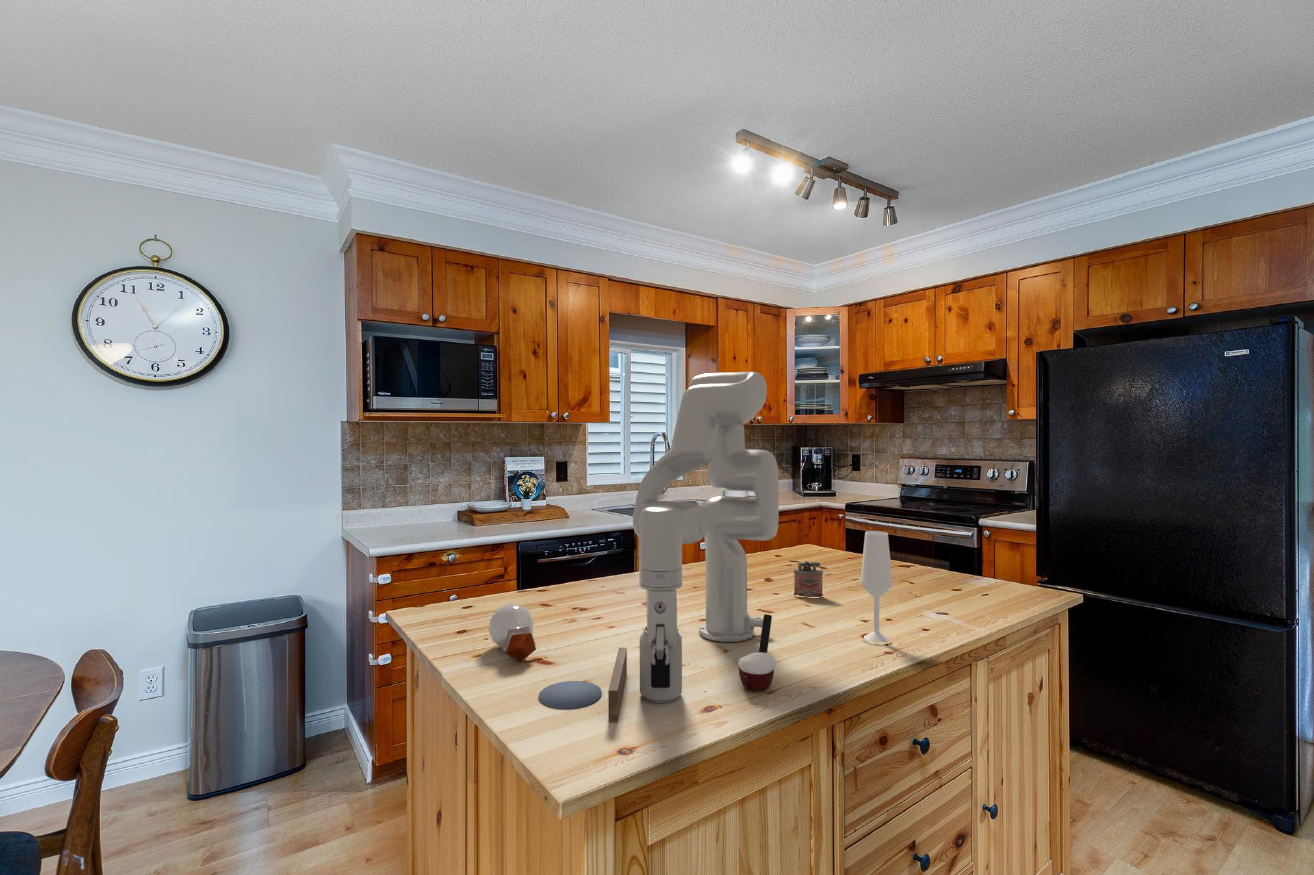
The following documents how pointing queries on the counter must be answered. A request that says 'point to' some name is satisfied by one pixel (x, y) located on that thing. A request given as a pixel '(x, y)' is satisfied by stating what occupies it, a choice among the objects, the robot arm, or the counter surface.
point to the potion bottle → (513, 631)
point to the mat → (570, 694)
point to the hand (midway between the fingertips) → (660, 677)
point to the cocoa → (758, 663)
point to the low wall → (617, 685)
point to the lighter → (808, 580)
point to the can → (675, 671)
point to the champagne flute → (876, 574)
